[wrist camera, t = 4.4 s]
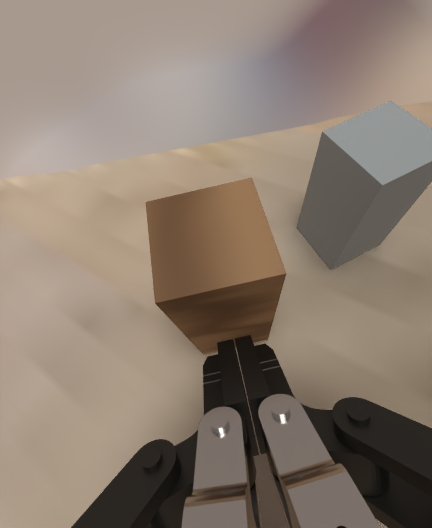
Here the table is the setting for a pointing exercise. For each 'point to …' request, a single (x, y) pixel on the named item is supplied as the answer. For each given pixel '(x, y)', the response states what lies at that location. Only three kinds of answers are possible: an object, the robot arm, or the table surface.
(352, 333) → the table surface
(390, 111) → the grey block
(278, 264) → the walnut block
